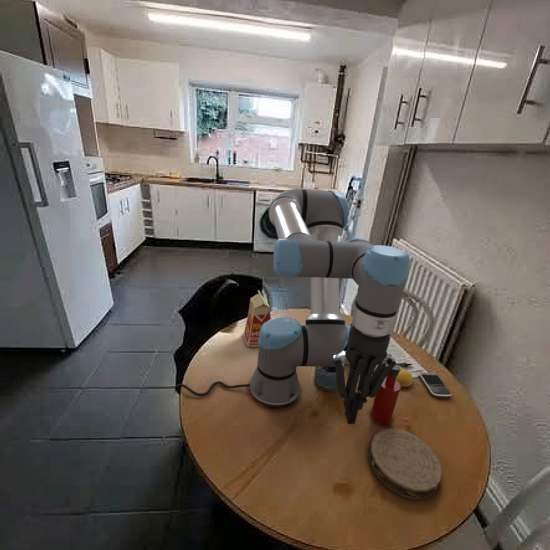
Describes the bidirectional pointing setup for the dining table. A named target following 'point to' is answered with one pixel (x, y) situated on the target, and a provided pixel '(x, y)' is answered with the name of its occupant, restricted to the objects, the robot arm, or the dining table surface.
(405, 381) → the yellow rounded piece
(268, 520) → the dining table surface
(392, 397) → the hot sauce bottle
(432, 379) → the cell phone
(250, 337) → the milk carton
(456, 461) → the dining table surface
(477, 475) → the dining table surface
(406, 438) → the woven round trivet
